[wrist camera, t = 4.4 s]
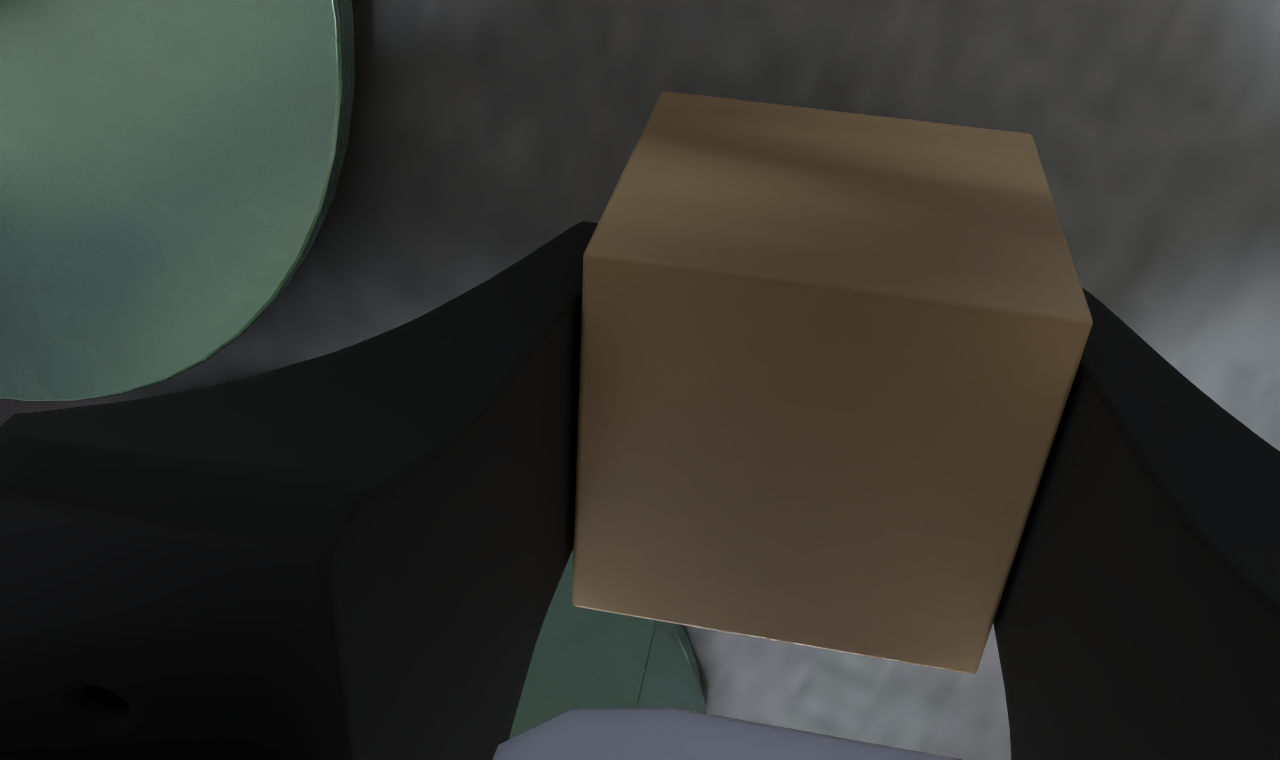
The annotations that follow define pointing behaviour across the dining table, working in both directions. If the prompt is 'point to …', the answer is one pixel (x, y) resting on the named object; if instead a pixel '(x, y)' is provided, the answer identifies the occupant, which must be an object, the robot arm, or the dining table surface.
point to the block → (820, 377)
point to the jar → (605, 663)
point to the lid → (158, 179)
